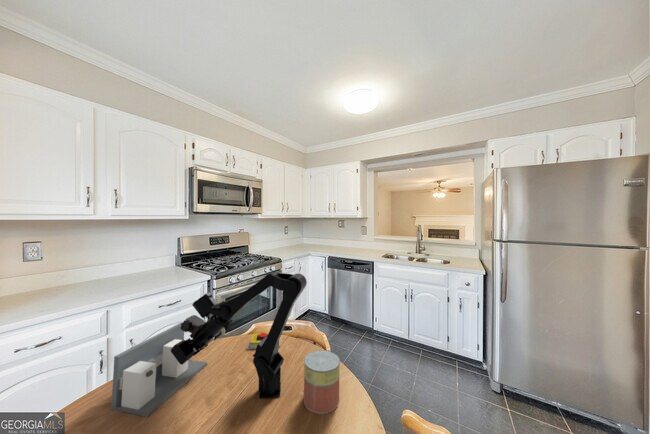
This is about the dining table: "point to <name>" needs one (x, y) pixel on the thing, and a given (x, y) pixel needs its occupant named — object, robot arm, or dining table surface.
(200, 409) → the dining table surface
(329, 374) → the canned food
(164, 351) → the breaker module
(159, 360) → the steel rail
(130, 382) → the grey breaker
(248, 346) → the emergency button
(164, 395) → the mounting board
